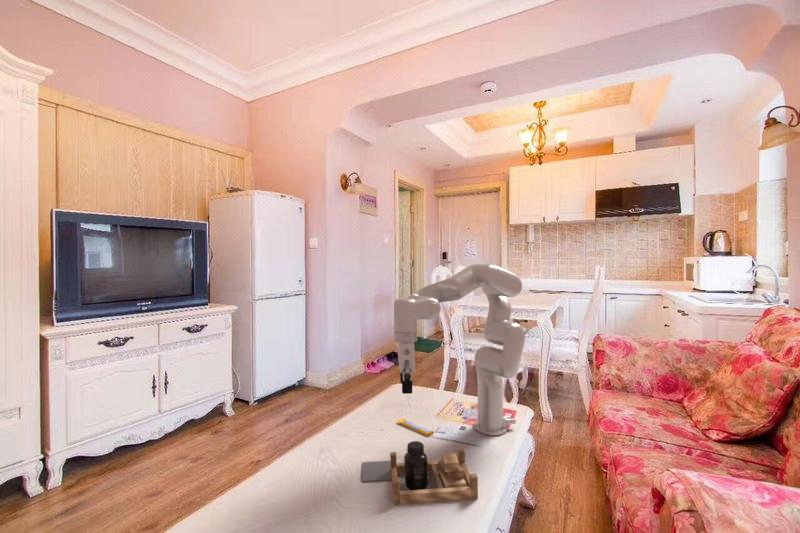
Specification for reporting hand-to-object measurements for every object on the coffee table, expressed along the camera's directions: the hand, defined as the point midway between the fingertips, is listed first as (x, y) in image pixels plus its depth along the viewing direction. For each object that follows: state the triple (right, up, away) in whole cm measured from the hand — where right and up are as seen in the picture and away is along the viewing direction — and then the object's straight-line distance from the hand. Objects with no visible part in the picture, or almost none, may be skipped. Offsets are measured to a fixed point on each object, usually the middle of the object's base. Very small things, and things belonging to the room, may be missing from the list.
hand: (406, 387), depth 120 cm
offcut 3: (+13, -25, -12) cm, 30 cm away
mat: (-9, -24, -6) cm, 26 cm away
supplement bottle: (+3, -25, -13) cm, 28 cm away
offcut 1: (+13, -19, -13) cm, 26 cm away
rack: (+7, -24, -13) cm, 28 cm away
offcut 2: (+13, -22, -12) cm, 28 cm away
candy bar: (+4, -24, +22) cm, 33 cm away
